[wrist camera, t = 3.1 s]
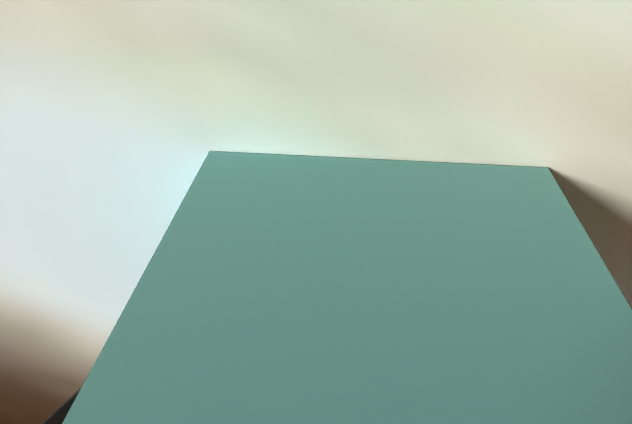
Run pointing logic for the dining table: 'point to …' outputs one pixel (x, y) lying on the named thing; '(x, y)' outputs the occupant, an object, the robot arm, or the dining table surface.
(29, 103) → the dining table surface
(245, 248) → the teal cube
